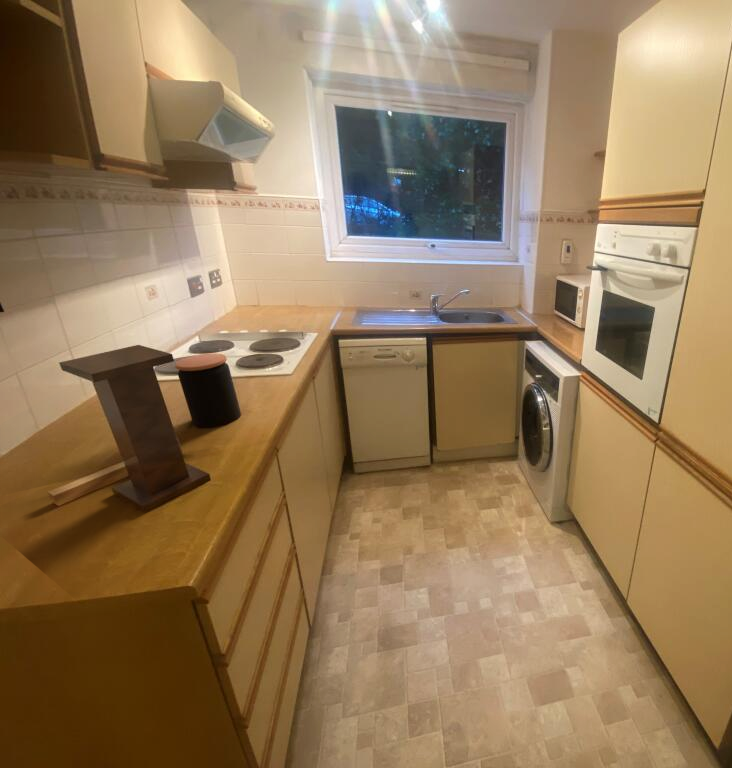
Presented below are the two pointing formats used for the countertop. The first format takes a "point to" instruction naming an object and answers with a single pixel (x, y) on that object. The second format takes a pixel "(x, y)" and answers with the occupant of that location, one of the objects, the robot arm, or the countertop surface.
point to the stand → (139, 424)
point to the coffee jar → (208, 390)
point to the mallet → (90, 483)
